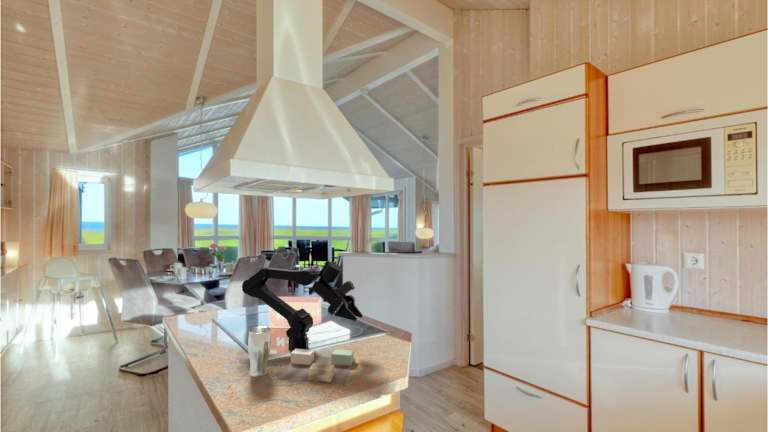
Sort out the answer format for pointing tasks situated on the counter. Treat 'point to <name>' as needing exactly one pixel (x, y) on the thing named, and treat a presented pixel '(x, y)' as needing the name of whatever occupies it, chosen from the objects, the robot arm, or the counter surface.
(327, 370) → the maple base block
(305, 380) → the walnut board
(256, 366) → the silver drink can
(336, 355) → the sage green block
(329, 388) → the counter surface
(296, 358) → the cream block
